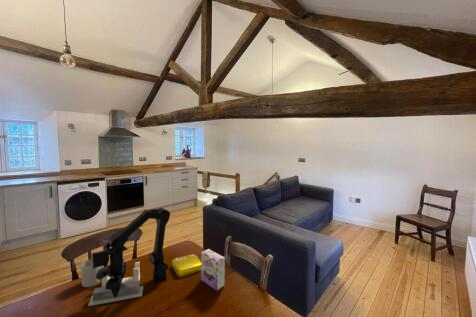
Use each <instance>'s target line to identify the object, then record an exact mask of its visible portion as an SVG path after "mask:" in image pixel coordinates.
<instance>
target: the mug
mask: <svg viewBox="0 0 476 317" xmlns="http://www.w3.org/2000/svg"><path fill="white" fill-rule="evenodd" d="M80 268H81V269H80V273H81V274H80V275H81V276H80V277H81V286H82V287H83V288H90V287H93V286H96V285H97V284H99V283H100V281H101V280H98V279H96V273H97V271H98V270H99V269H101V268H103V266H100V267H97V268H94V269H92V266H91V259H88V260H85V261H83V262H82V263H81V264H80Z"/></svg>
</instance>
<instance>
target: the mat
mask: <svg viewBox="0 0 476 317" xmlns="http://www.w3.org/2000/svg"><path fill="white" fill-rule="evenodd" d="M143 291H144V285H141V286H140V289H139V293H137V294H132V295H126V296H121V297H115V298H110V299H104V300H99V301H93V294H92V296H91V297H90V300H89V302H88V304H87V305H88V307H91V306H95V305H100V304H101V305H102V304H108V303H113V302H118V301H122V300H128V299H134V298H139V297H143V293H144V292H143Z"/></svg>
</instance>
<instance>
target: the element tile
mask: <svg viewBox="0 0 476 317" xmlns="http://www.w3.org/2000/svg"><path fill="white" fill-rule="evenodd" d="M171 261H172V262H171V265H172V266H171V267H172V269H173V270H174V272H175V274H176V276H177V277H178V278H182V277H186V276H188V274H189V275H192V274H195V273H194V272H196V273H198V272H197V271H199V272H201V271H200V270H201V259H199V257H198V256H197V255H196V254H194V253H192V254H188V255H184V256H180V257H176V258H173V259H172V260H171ZM191 273H192V274H191Z"/></svg>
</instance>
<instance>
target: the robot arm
mask: <svg viewBox="0 0 476 317" xmlns="http://www.w3.org/2000/svg"><path fill="white" fill-rule="evenodd" d="M170 217H171V212H170V210H168V209H166V208H164V207H159V208H153V209H144V210H143V212H141V213H140V214H139V215H138V216H137V217H136V218H135V219H133V221H131V222H130V223H129V224H128V225H127V226H125V227H124V228H123V229H120V230H118V231H116V232H114V233H113V234H112V235H110V236H109V238H108V241H107V243H106V244H105V245H104V246H103V250H100V251H97V252H92V253H91V257H90V260H91V266H92V269H94V268H97V267H100V266H102V268H101V269H99V270H98V271H97V273H96V279H98V280H100V281H102V278H104V277H106V276H108V277H110V279H109V280H108V281H107V283H106V285H105V289H106V290H109V289H110V290H111V291H112V294H113V296H114V298H115V297H117V295H118V293H119V290H120V287H121V285H122V280H123V278H125V277H124V276H125V274H126V272H127V267H128V265H127V262H126V261H125V259H124V252H125V251H128V247H126V246H125V244H126V243H127V242H128V240H129V238H130V237H131V235H132V234H134V233H135V232H136V231H137V230H138V229H139V228H140V227H142V226H143V225H144V224H145V223H146V222H147V221H149V220H151V219H153V220H155V221H156V222H155V223H156V228H155V237H154V246H153V251H152V252H149V253H148V255H149V256H148V262H149V264H150V265H151V266H152V267H153V268H154V269H153V272H152V274H153V276H152V280H153V283H161V282H165V281H167V279H168V278H167V276H168V275H167V274H168V273H167V270H168V269H169V264H167V263H166V262H165V256H164V252H163V249H164V243H165V242H164V241H165V236H166V235H165V233H166V227H167V226H166V225H167V224H168V223H169V221H170ZM107 264H108V265H107ZM111 277H112V278H111Z"/></svg>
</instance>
